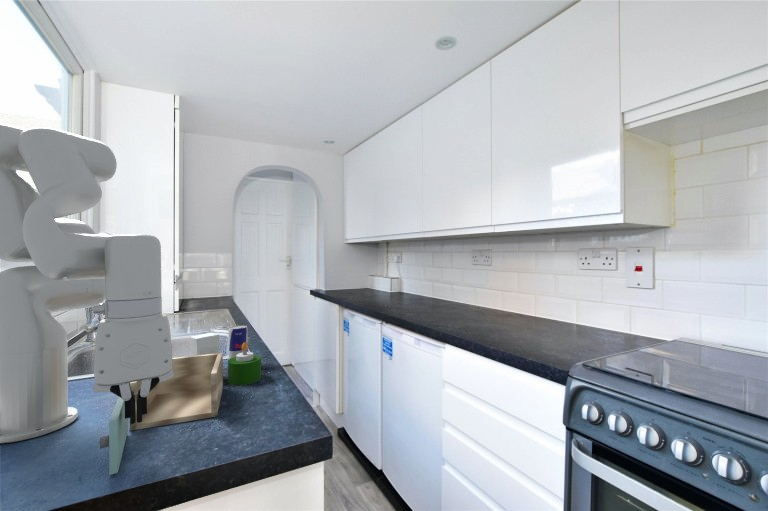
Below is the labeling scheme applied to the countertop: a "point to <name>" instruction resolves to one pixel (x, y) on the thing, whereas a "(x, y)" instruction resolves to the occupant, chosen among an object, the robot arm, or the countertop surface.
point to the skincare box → (204, 344)
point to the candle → (244, 368)
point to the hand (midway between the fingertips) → (136, 420)
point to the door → (116, 436)
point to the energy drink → (237, 339)
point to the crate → (184, 392)
